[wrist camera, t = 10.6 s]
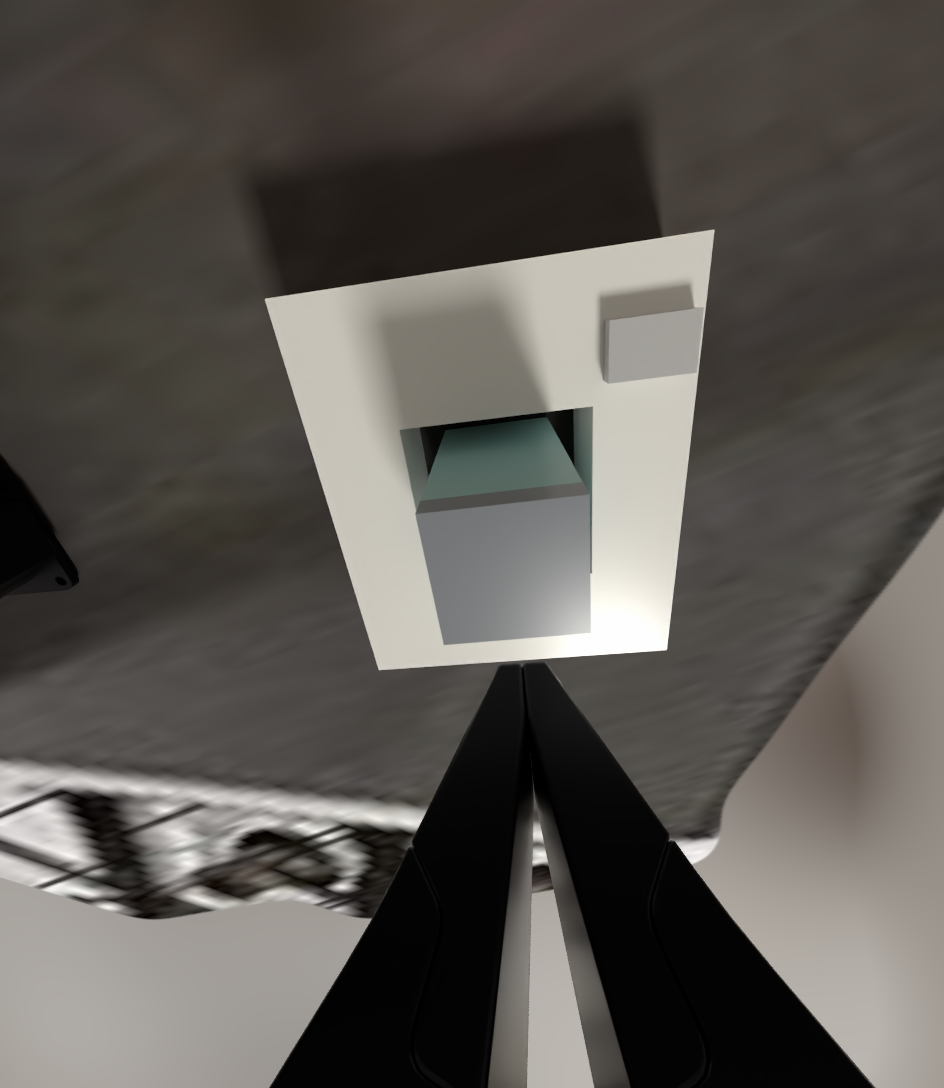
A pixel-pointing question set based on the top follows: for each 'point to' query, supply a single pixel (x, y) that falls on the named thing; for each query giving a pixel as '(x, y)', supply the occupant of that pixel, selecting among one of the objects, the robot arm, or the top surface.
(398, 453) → the socket plate
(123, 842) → the top surface
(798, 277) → the top surface
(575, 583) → the plug
